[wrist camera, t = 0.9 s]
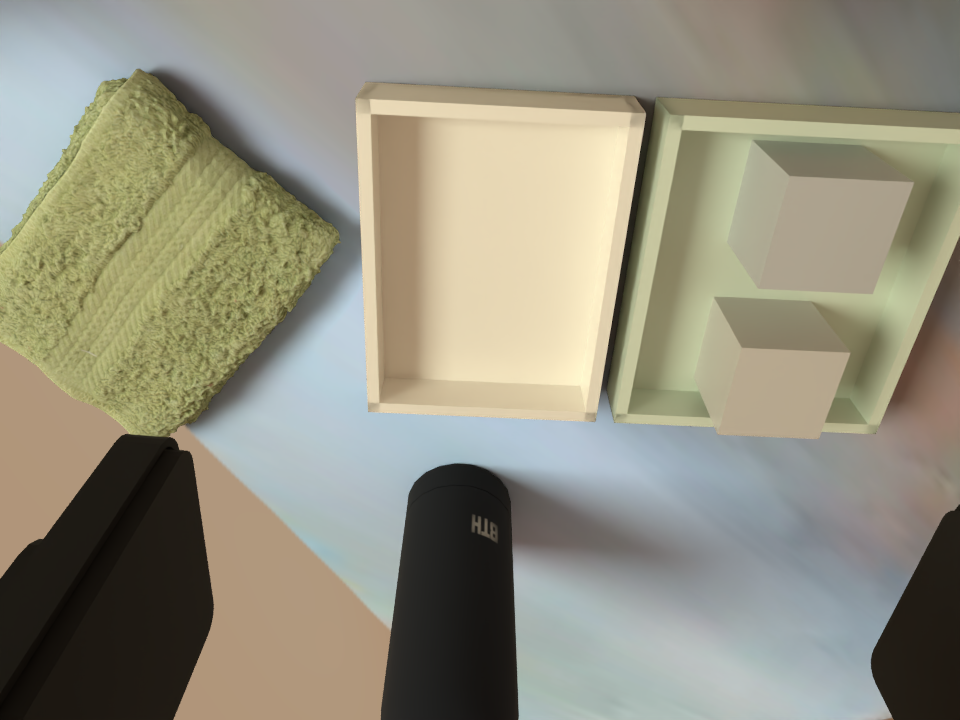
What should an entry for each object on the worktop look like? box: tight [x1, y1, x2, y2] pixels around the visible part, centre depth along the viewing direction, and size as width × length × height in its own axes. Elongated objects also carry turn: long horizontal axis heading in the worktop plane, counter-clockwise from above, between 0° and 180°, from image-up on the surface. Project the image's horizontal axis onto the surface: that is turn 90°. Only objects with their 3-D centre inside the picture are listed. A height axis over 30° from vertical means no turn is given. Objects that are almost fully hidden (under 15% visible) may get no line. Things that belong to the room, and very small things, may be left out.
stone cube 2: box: [694, 297, 851, 439], centre depth 37 cm, size 5×5×5 cm
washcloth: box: [0, 69, 341, 437], centre depth 37 cm, size 13×18×3 cm
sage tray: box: [607, 97, 960, 434], centre depth 36 cm, size 16×14×3 cm
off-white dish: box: [355, 82, 646, 422], centre depth 36 cm, size 16×12×3 cm
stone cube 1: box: [727, 140, 914, 294], centre depth 33 cm, size 5×5×5 cm
